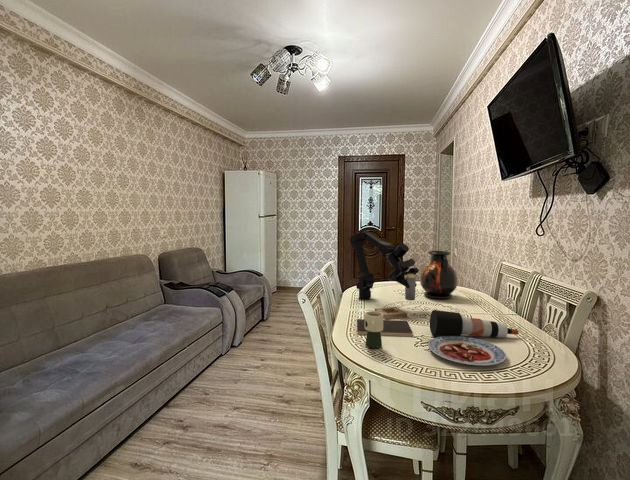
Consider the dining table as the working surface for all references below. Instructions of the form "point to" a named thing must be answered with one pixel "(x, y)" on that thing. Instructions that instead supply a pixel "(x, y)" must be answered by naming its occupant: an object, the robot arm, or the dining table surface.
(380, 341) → the character mug
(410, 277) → the grey and tan cylinder
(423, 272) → the dark orange vase
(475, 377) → the dining table surface
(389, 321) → the hardcover book
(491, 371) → the dining table surface
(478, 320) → the black white tapered cylinder
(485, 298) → the dining table surface
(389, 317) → the brown square frame
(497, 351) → the ceramic plate
